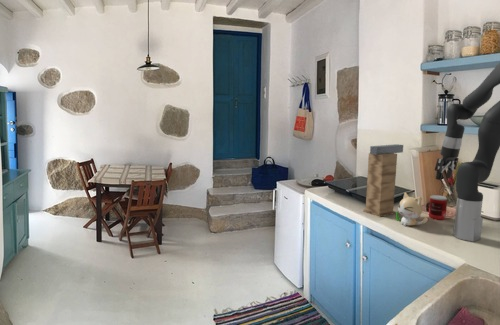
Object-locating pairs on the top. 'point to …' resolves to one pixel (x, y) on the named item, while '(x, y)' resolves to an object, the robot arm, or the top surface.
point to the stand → (381, 184)
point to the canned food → (437, 207)
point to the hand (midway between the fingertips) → (443, 178)
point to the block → (386, 149)
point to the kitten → (410, 210)
